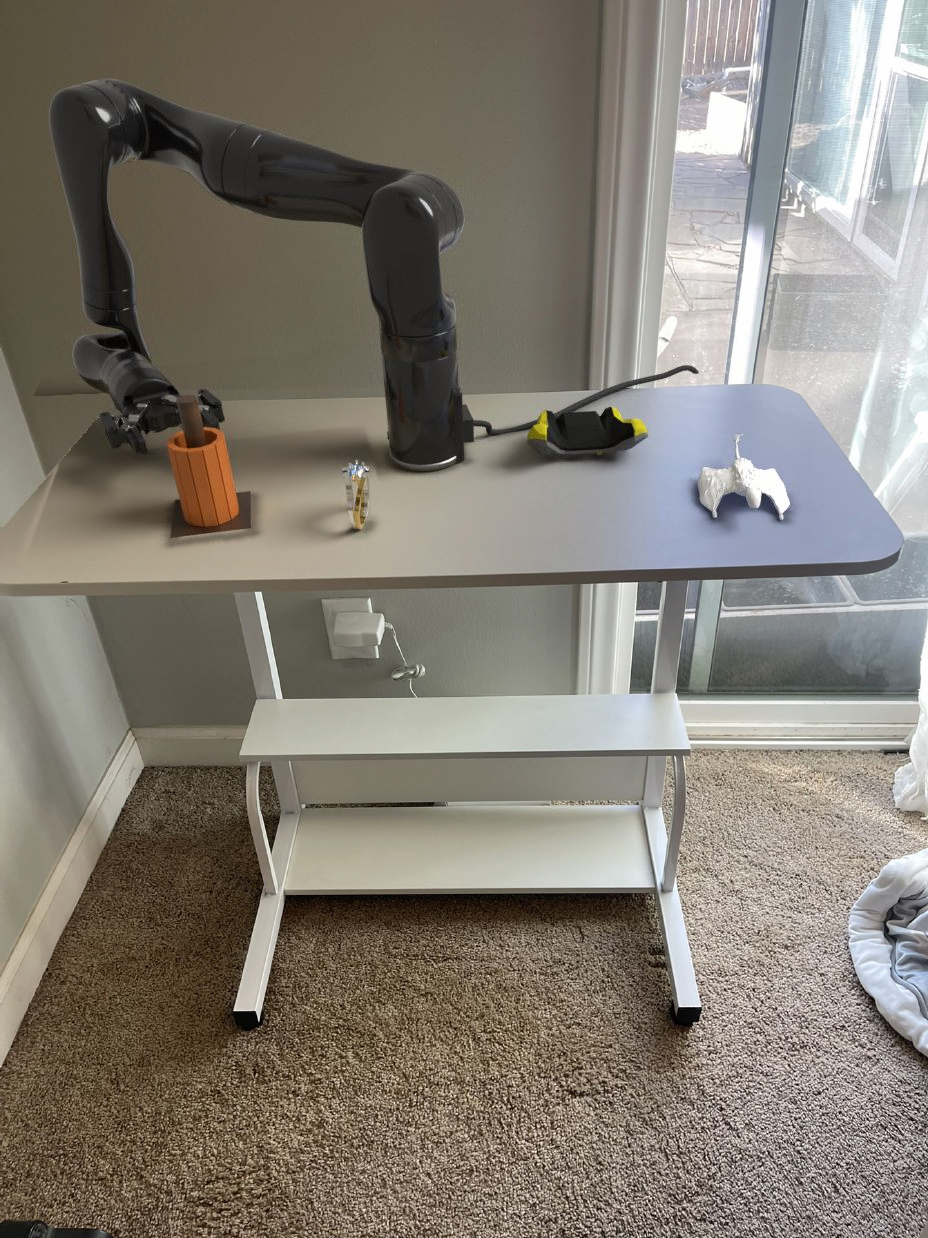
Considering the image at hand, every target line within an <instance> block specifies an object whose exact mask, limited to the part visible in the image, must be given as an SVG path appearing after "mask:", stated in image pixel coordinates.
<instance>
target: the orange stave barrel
mask: <svg viewBox="0 0 928 1238" xmlns="http://www.w3.org/2000/svg"><path fill="white" fill-rule="evenodd" d="M204 433H205V438H206V442H207V445H206V446H203V447H199V448H190V449H187V446H186V441H185V437H184V433H183V430H180V431H177V432H175V433H174V434H172V435H171V436H169V437H168V438H167V441H166V448H167V453H168V457H169V461H170V464H171V465H170V466H171V469H172V473H173V477H174V482H175V485H176V489H177V494H178V496H179V499H180V502H181V506H182V510H183V514H184V518H185V520H186V521H187V522H188V523H189V524H191V525H194V526H200V527H204V526H205V527H209V526H217V525H218V524H219V525H221V524H223V523H226V522H228V521H230V520H232V519H233V518H234V517H235V516H236V515H237V514H238V513H239V506H238V501H237V496H236V493H237V491H236V487H235V482H234V477H233V472H232V471H233V470H232V466H231V463H230V457H229V456H230V455H229V452H228V447H227V442H226V436H225V433H224V431H222V430H221V429H220V430H218V429H216V428H209V427H204Z"/></svg>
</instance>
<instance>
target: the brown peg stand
mask: <svg viewBox="0 0 928 1238" xmlns="http://www.w3.org/2000/svg"><path fill="white" fill-rule="evenodd" d="M197 397H198V396H196V395H193V394H185V395H182V396H181V397H179V398H177V399H176V402H177V407H178V411H179V415H180V420H181V424H182V427H181V428H182V431H183V433H184V437H185V441H186V446H187V449H190V448H199V447H203V446H206V445H207V442H206V438H205V433H204V428H203V424H202V419H201V414H200V410H199V405H198V400H197ZM251 494H252V493H251V490H248V491H247V490H246V491H238V492H236V496H237V501H238V506H239V513H238V514H237V515H236V516H235V517H234V518H233V519H232V520H230V521H228V522H226V523H223V524H221V525H219V524H218V525H217V526H209V527H205V526H204V527H200V526H194V525H191V524H189V523H188V522H187V521H186V520H185V518H184V514H183V510H182V506H181V502H180V498H179V499H174V506H173V512H172V523H171V530H170V539H174V538H182V537H190V536H198V535H206V534H215V533H223V532H231V531H238V530H247V529H252V499H251V498H252V495H251Z"/></svg>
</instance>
